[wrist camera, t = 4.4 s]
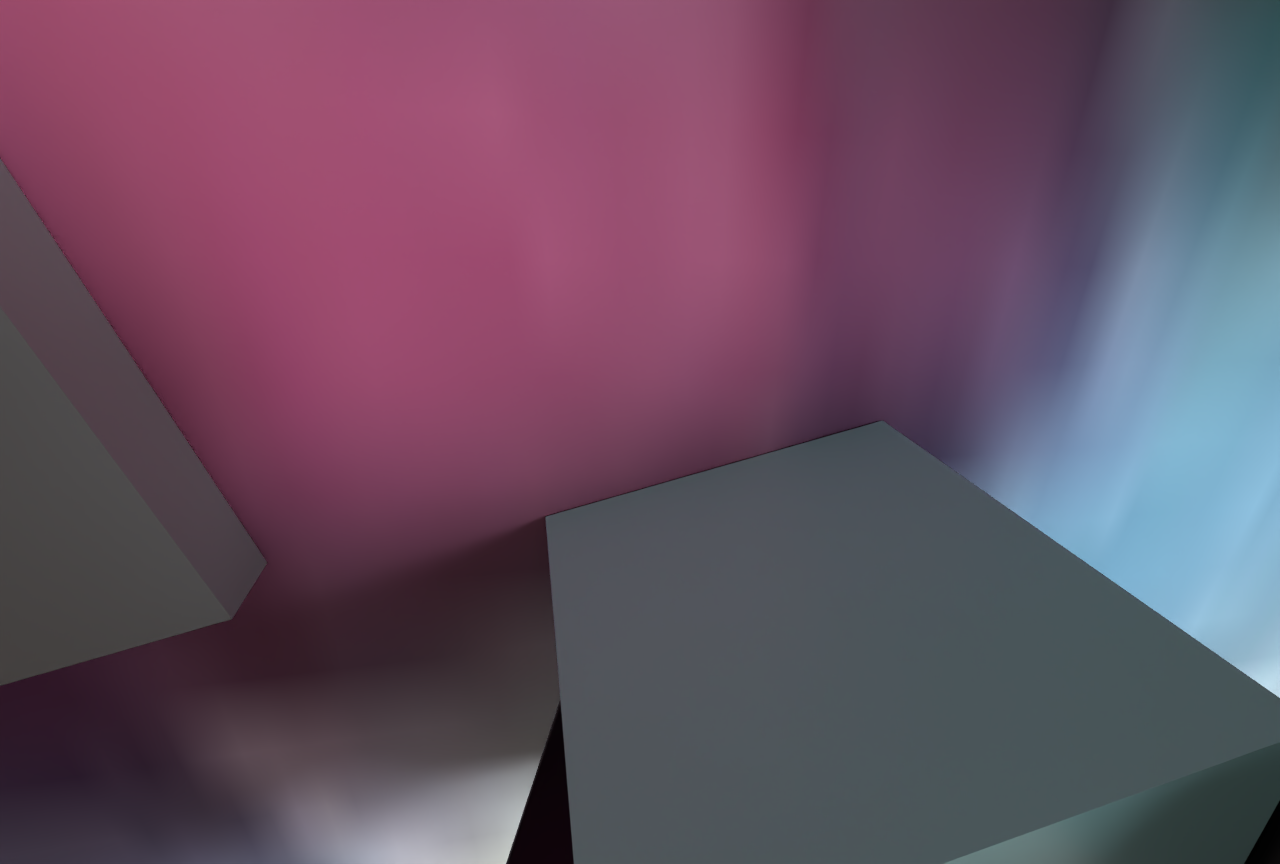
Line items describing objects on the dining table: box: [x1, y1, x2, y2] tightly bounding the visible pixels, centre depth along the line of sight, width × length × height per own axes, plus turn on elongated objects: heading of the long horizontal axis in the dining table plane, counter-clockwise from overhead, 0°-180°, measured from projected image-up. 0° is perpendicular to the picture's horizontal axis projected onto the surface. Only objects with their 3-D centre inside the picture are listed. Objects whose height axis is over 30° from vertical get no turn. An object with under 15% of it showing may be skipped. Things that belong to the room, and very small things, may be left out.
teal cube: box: [545, 421, 1280, 864], centre depth 7 cm, size 5×5×5 cm
